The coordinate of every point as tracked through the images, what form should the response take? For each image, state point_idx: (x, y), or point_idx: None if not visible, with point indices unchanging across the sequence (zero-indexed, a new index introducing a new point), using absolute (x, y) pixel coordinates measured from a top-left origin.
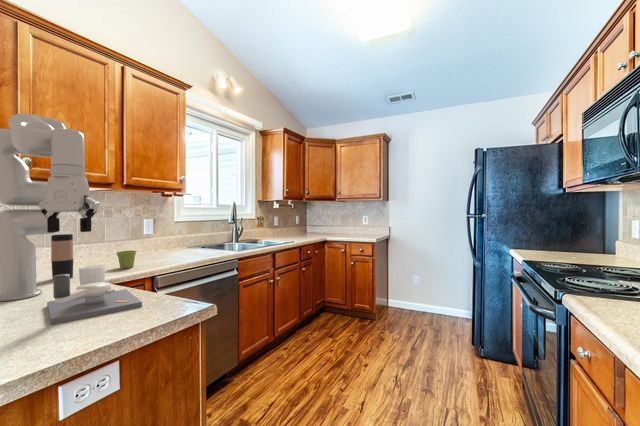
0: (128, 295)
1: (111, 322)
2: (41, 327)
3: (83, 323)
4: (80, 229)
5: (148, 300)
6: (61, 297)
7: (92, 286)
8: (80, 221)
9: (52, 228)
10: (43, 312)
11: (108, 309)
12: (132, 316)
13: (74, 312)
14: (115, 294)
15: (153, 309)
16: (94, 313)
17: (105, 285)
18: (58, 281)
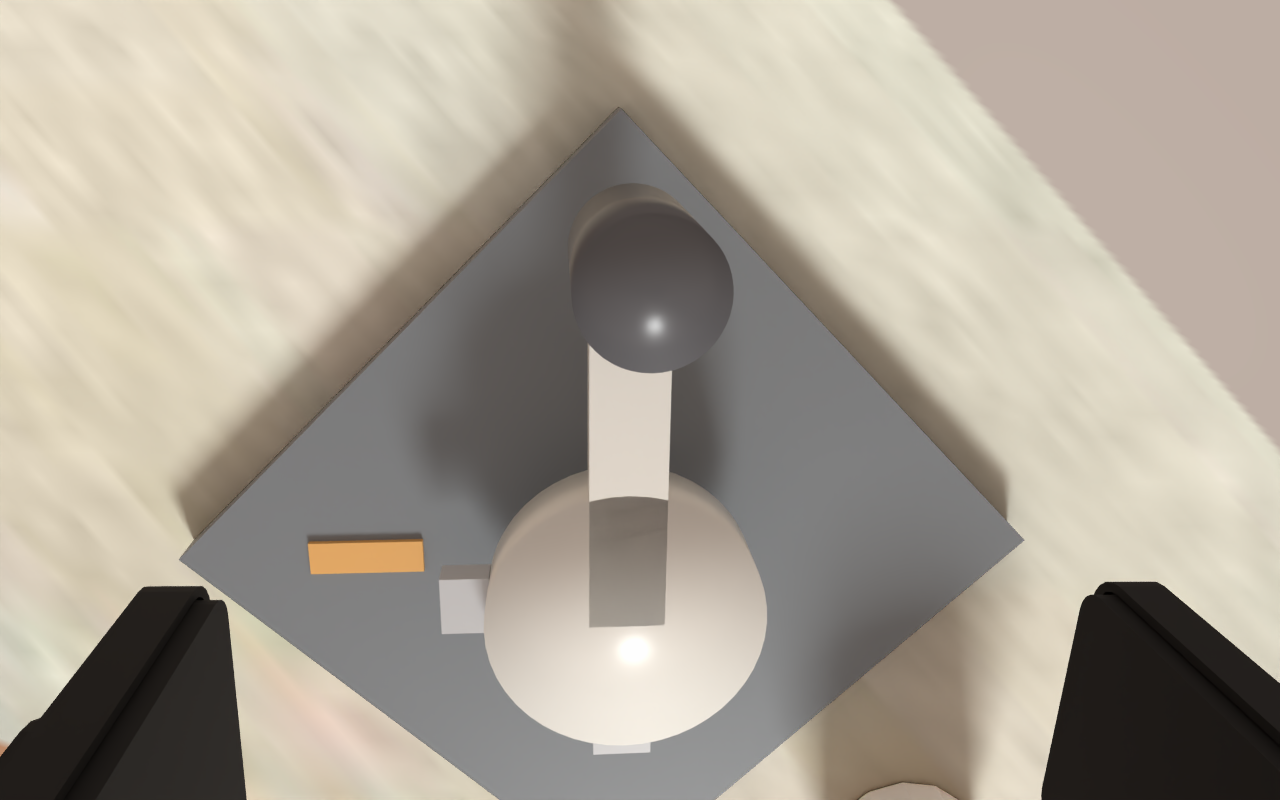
0: (447, 720)
1: (148, 160)
2: (651, 53)
3: (374, 139)
4: (201, 627)
5: (260, 689)
6: (594, 198)
7: (616, 593)
8: (61, 783)
9: (1119, 691)
10: (923, 389)
11: (350, 384)
12: (78, 301)
13: (564, 280)
14: (590, 743)
15: (27, 471)
16: (419, 312)
17: (510, 631)
18: (622, 208)
